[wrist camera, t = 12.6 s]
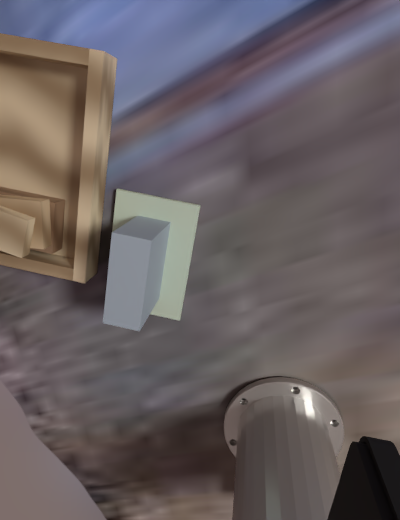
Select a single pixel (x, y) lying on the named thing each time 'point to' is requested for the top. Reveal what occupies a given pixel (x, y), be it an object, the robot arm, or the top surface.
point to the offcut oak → (35, 209)
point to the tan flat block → (55, 216)
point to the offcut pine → (15, 232)
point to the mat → (177, 246)
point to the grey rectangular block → (135, 271)
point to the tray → (57, 143)
